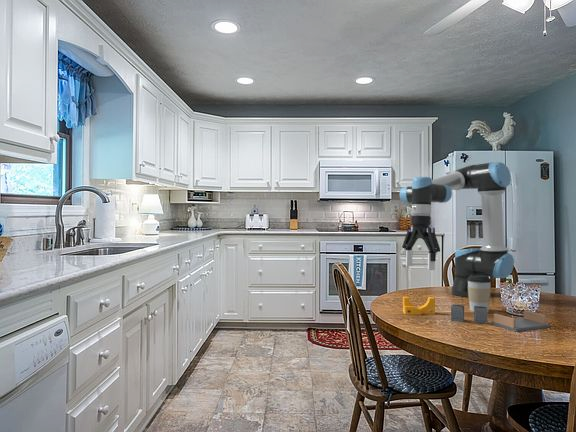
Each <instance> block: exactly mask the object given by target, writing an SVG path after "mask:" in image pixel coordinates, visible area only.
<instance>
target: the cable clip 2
mask: <svg viewBox="0 0 576 432" xmlns="http://www.w3.org/2000/svg"><path fill="white" fill-rule="evenodd" d="M473 313H474V314H473V321H474V323H475V324H480V325H481V324H485V325H488V312H487V308H486V307H482V306H474V312H473Z"/></svg>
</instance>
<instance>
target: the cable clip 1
mask: <svg viewBox="0 0 576 432" xmlns="http://www.w3.org/2000/svg"><path fill="white" fill-rule="evenodd" d="M450 309H451V310H450V321H451V322H458V323H463V322H464V321H465V305H463V304H455V303H453V304H451V305H450Z"/></svg>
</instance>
